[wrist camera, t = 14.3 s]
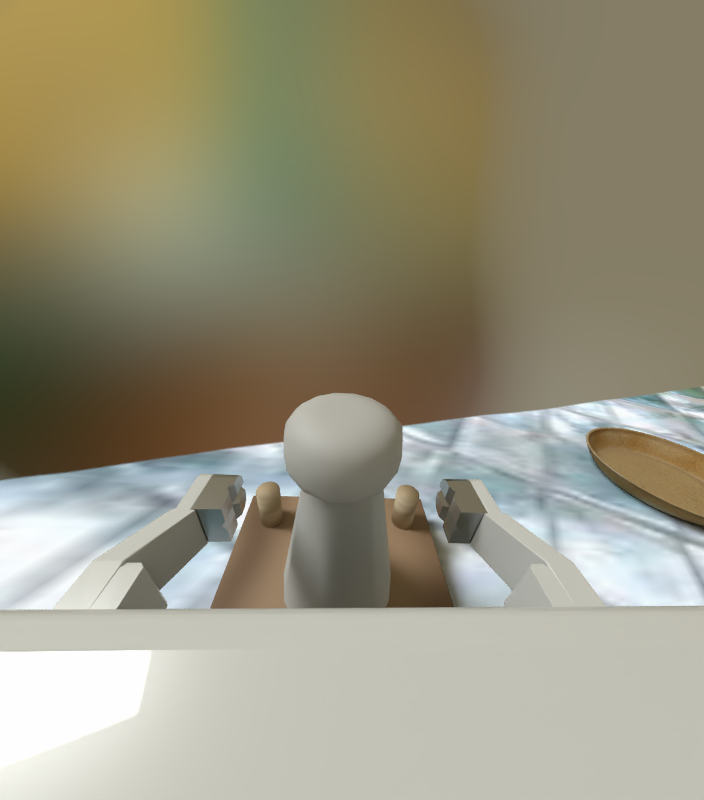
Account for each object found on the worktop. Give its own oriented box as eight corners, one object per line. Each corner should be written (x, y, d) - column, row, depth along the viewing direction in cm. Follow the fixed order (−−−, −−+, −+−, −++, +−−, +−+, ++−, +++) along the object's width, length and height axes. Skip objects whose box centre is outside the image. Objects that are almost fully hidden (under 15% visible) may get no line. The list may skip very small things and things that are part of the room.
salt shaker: (356, 534, 18) (374, 369, 12) (405, 622, 14) (473, 437, 8) (275, 571, 16) (244, 389, 10) (304, 693, 12) (280, 506, 5)
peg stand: (149, 831, 10) (83, 826, 7) (257, 515, 22) (248, 469, 19) (495, 818, 11) (554, 808, 8) (415, 518, 23) (427, 473, 20)
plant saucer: (748, 490, 29) (768, 473, 27) (795, 589, 19) (829, 571, 18) (585, 429, 38) (594, 415, 36) (565, 478, 29) (576, 461, 27)
